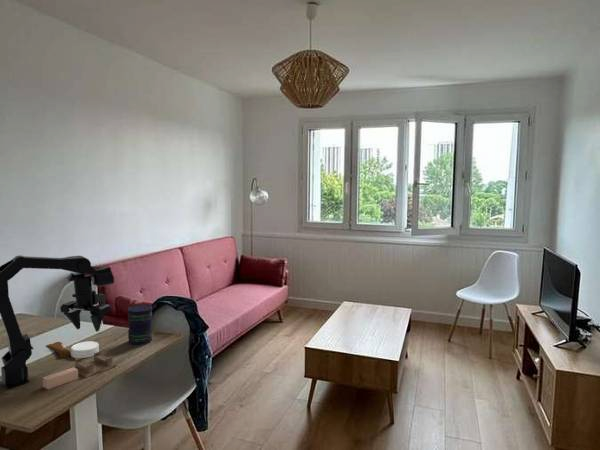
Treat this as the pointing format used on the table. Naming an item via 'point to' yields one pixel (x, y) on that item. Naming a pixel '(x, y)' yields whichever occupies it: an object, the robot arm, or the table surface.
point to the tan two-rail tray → (94, 365)
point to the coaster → (84, 349)
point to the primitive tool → (59, 349)
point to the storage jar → (140, 325)
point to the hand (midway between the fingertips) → (88, 330)
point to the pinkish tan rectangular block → (60, 378)
